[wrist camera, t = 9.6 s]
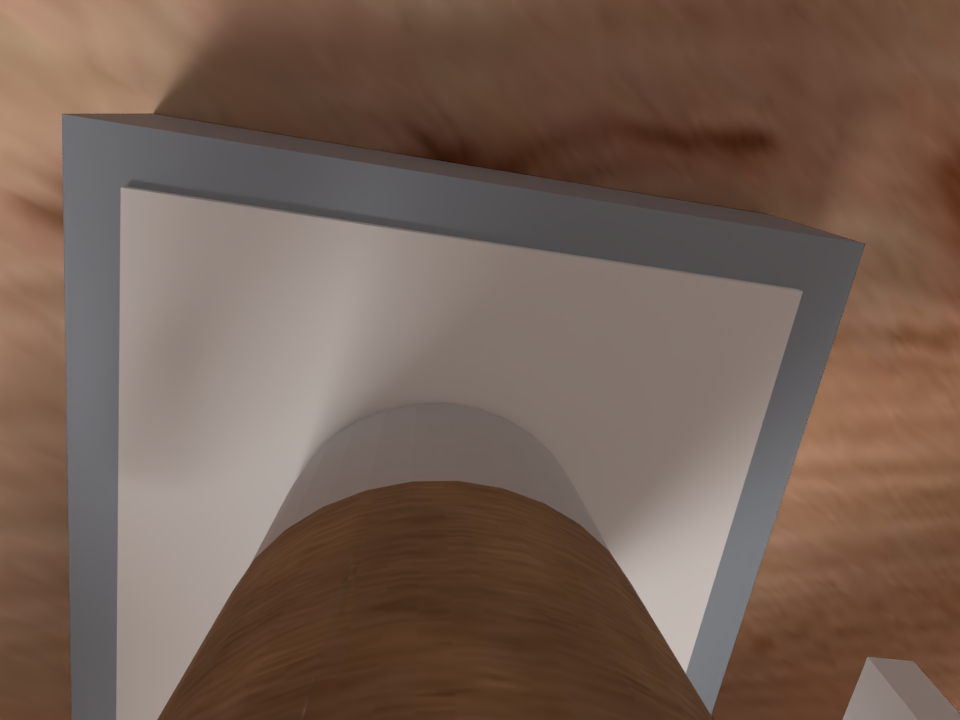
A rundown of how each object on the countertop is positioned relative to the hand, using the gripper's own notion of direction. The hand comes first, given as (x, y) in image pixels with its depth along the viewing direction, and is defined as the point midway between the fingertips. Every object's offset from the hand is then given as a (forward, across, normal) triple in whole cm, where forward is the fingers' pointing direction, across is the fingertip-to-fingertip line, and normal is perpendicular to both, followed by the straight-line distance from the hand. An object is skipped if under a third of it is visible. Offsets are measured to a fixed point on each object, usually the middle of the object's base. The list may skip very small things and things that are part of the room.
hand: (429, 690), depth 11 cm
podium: (+8, 0, 0) cm, 8 cm away
